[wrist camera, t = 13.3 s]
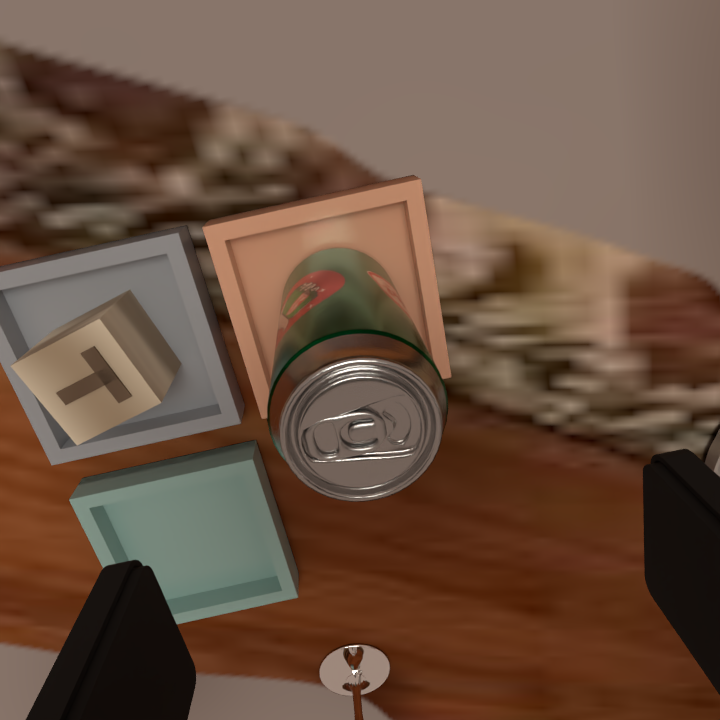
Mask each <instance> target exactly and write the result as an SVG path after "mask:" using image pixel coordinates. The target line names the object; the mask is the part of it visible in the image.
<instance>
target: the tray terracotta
mask: <svg viewBox="0 0 720 720" xmlns="http://www.w3.org/2000/svg"><path fill="white" fill-rule="evenodd" d="M202 228H203V231H204V234H205V237H206V241H207V244H208V247H209V250H210V253H211V257H212V260H213V263H214V266H215V270H216V273H217V276H218V279H219V282H220V286H221V289H222V292H223V295H224V298H225V302H226V305H227V308H228V311H229V315H230V318H231V321H232V324H233V327H234V331H235V334H236V337H237V340H238V343H239V347H240V350H241V353H242V356H243V360H244V363H245V366H246V369H247V372H248V376H249V379H250V382H251V385H252V389H253V392H254V395H255V398H256V401H257V405H258V408H259V411H260V414H261V417H262V419H264V418H267V405H268V397H269V390H270V383H271V375H272V368H273V361H274V353H275V346H276V339H277V331H278V324H279V316H280V309H281V302H282V295H283V290H284V287H285V284H286V281H287V280H288V278H289V276H290V274H291V273H292V271H293V270H294V269H295V268H296V266H298V265H299V264H300V263H301V262H302V261H303V260H304V259H306V258H307V257H309V256H310V255H313V254H315V253H317V252H319V251H323V250H326V249H332V248H348V249H353V250H357V251H359V252H362V253H365V254H366V255H368V256H370V257H372V258H373V259H374V260H376V261H377V262H378V263H379V264H380V265H381V266H382V267H383V268H384V269H385V271H386V272H387V274H388V275H389V277H390V279H391V281H392V282H393V284H394V286H395V288H396V290H397V292H398V294H399V296H400V298H401V300H402V301H403V303H404V305H405V307H406V309H407V311H408V313H409V315H410V317H411V319H412V321H413V322H414V324H415V326H416V328H417V330H418V332H419V334H420V336H421V338H422V340H423V341H424V343H425V345H426V347H427V349H428V351H429V353H430V355H431V357H432V359H433V360H434V362H435V364H436V366H437V368H438V370H439V372H440V374H441V377H442V379H445V378H450V377H451V371H450V365H449V358H448V352H447V345H446V339H445V332H444V326H443V319H442V313H441V306H440V300H439V293H438V287H437V280H436V274H435V267H434V261H433V254H432V248H431V241H430V235H429V228H428V222H427V215H426V209H425V202H424V196H423V189H422V183H421V179H420V178H418V177H416V176H414V175H411V176H406V177H402V178H397V179H393V180H388V181H384V182H379V183H375V184H370V185H366V186H361V187H357V188H352V189H348V190H343V191H338V192H334V193H329V194H325V195H320V196H316V197H311V198H307V199H302V200H298V201H293V202H289V203H284V204H280V205H275V206H271V207H266V208H262V209H257V210H253V211H248V212H244V213H239V214H235V215H230V216H226V217H221V218H217V219H212V220H209V221H208V222H207V223H206V224H205V225H204V226H203V227H202Z"/></svg>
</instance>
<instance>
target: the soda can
mask: <svg viewBox="0 0 720 720" xmlns="http://www.w3.org/2000/svg"><path fill="white" fill-rule="evenodd" d="M447 414H448V396H447V392H446V388H445V384H444V381H443V379H442V377H441V374H440V372H439V370H438V368H437V366H436V364H435V362H434V360H433V359H432V357H431V355H430V353H429V351H428V349H427V347H426V345H425V343H424V341H423V340H422V338H421V336H420V334H419V332H418V330H417V328H416V326H415V324H414V322H413V321H412V319H411V317H410V315H409V313H408V311H407V309H406V307H405V305H404V303H403V301H402V300H401V298H400V296H399V294H398V292H397V290H396V288H395V286H394V284H393V282H392V281H391V279H390V277H389V275H388V274H387V272H386V271H385V269H384V268H383V267H382V266H381V265H380V264H379V263H378V262H377V261H376V260H374V259H373V258H372V257H370V256H368V255H366V254H365V253H362V252H359V251H357V250H353V249H348V248H332V249H326V250H323V251H319V252H317V253H315V254H313V255H310V256H309V257H307V258H306V259H304V260H303V261H302V262H301V263H300V264H299V265H298V266H296V268H295V269H294V270H293V271H292V273H291V274H290V276H289V278H288V280H287V281H286V284H285V287H284V290H283V295H282V302H281V309H280V316H279V324H278V331H277V339H276V346H275V353H274V361H273V368H272V375H271V383H270V390H269V397H268V405H267V421H268V426H269V432H270V435H271V437H272V440H273V443H274V445H275V447H276V448H277V450H278V452H279V453H280V455H281V456H282V457H283V459H284V460H285V461H286V462H287V464H288V465H289V467H290V469H291V470H292V471H293V473H294V474H295V475H296V476H297V477H298V479H300V480H301V481H302V482H303V483H304V484H305V485H307V486H308V487H309V488H311V489H313V490H314V491H316V492H318V493H320V494H322V495H325V496H327V497H330V498H334V499H338V500H343V501H351V502H358V501H371V500H377V499H381V498H384V497H388V496H390V495H393V494H395V493H397V492H400V491H401V490H403V489H405V488H406V487H408V486H410V485H411V484H412V483H413V482H415V481H416V480H417V479H418V478H419V477H420V476H421V475H422V474H423V473H424V472H425V471H426V470H427V469H428V467H429V466H430V464H431V463H432V462H433V460H434V458H435V456H436V454H437V452H438V449H439V446H440V443H441V439H442V434H443V431H444V428H445V425H446V422H447Z"/></svg>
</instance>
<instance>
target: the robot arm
mask: <svg viewBox="0 0 720 720" xmlns="http://www.w3.org/2000/svg"><path fill="white" fill-rule="evenodd" d="M643 502H644V563H645V580H646V584H647V587H648V590H649V592H650V594H651V596H652V597H653V599H654V600H655V602H656V603H657V605H658V606H659V607H660V609H661V610H662V612H663V613H664V615H665V616H666V618H667V619H668V620H669V622H670V623H671V625H672V626H673V628H674V629H675V631H676V632H677V634H678V635H679V636H680V638H681V639H682V641H683V642H684V644H685V645H686V647H687V648H688V649H689V651H690V652H691V654H692V655H693V657H694V658H695V660H696V661H697V663H698V664H699V665H700V667H701V668H702V670H703V671H704V673H705V674H706V676H707V677H708V678H709V680H710V681H711V683H712V684H713V686H714V687H715V689H716V690H717V692H718V693H719V694H720V429H719V431H718V433H717V435H716V437H715V439H714V441H713V443H712V444H711V446H710V448H709V451H708V454H707V457H706V460H705V463H704V462H703V461H701V460H700V459H699V458H698V457H697V456H696V455H695V454H694V453H692V452H691V451H690V450H688V449H681V450H676V451H671V452H666V453H661V454H656V455H654V456H653V457H652V459H651V464H648V465H645V466H644V468H643ZM195 684H196V671H195V666H194V663H193V660H192V658H191V656H190V654H189V651H188V649H187V647H186V645H185V642H184V640H183V638H182V635H181V633H180V631H179V629H178V626H177V624H176V622H175V620H174V617H173V615H172V613H171V610H170V608H169V606H168V604H167V601H166V599H165V597H164V595H163V592H162V590H161V588H160V585H159V583H158V581H157V579H156V576H155V574H154V572H153V570H152V568H151V567H150V566H147V565H146V566H143V565H142V563H141V562H140V561H139V560H131V561H126V562H121V563H116V564H111V565H107V566H105V567H104V568H103V570H102V571H101V573H100V575H99V577H98V579H97V581H96V583H95V585H94V587H93V589H92V591H91V593H90V595H89V596H88V598H87V600H86V602H85V604H84V606H83V608H82V610H81V612H80V614H79V616H78V618H77V620H76V622H75V624H74V626H73V628H72V630H71V632H70V634H69V636H68V638H67V640H66V642H65V644H64V646H63V648H62V650H61V652H60V653H59V655H58V657H57V659H56V661H55V663H54V665H53V667H52V669H51V671H50V673H49V675H48V677H47V679H46V681H45V683H44V685H43V687H42V689H41V691H40V693H39V695H38V697H37V699H36V701H35V703H34V705H33V707H32V709H31V711H30V712H29V715H28V717H27V719H26V720H187V719H188V715H189V710H190V706H191V702H192V698H193V694H194V689H195Z"/></svg>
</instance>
